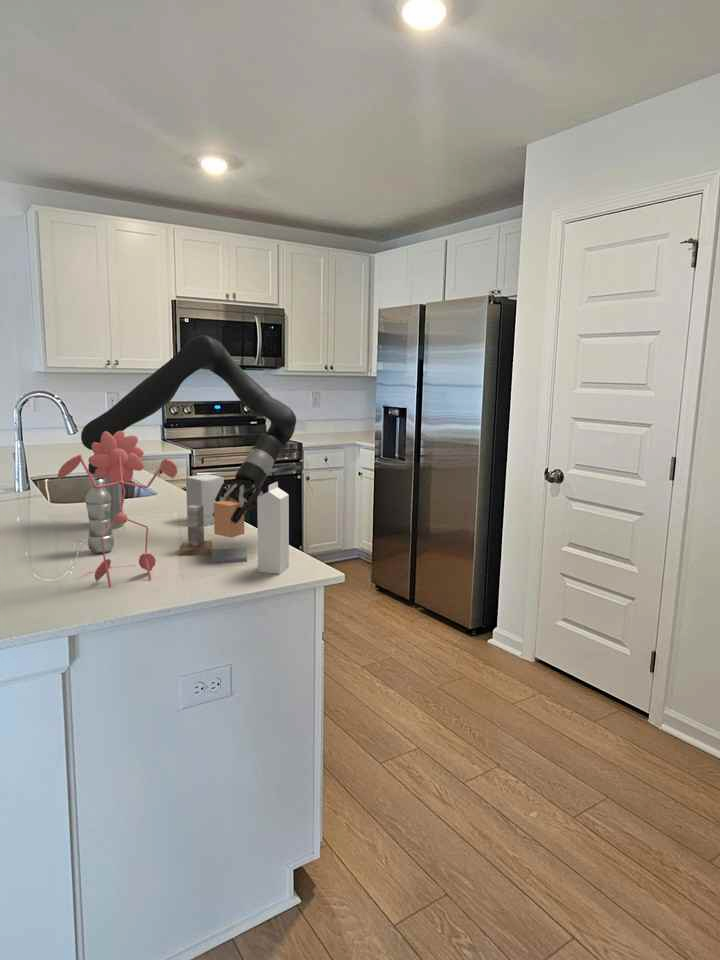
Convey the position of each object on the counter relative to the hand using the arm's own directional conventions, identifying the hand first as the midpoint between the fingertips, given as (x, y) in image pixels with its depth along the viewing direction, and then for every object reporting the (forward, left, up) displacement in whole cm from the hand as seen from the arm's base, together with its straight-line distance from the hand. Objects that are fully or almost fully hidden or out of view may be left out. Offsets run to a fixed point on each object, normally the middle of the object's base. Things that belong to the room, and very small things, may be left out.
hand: (224, 519), depth 162 cm
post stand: (-8, +8, -11) cm, 16 cm away
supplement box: (-7, +41, -11) cm, 43 cm away
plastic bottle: (-33, +10, -11) cm, 36 cm away
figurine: (-24, -11, -11) cm, 28 cm away
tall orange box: (+1, +1, -4) cm, 5 cm away
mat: (+1, +1, -11) cm, 11 cm away
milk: (+12, -11, -11) cm, 20 cm away
